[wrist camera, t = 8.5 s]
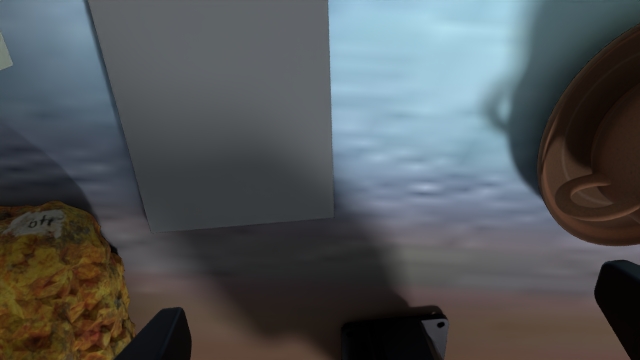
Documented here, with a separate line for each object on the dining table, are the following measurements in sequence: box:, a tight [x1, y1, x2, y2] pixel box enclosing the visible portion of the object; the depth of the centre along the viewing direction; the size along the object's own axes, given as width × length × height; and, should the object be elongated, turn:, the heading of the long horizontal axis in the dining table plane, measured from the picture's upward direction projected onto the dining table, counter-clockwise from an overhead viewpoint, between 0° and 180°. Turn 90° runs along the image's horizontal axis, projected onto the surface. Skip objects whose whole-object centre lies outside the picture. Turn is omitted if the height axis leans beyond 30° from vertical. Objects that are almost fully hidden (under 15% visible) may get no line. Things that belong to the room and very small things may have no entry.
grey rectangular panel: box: [88, 0, 334, 233], centre depth 18 cm, size 12×9×1 cm
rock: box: [0, 200, 136, 360], centre depth 20 cm, size 12×9×11 cm
